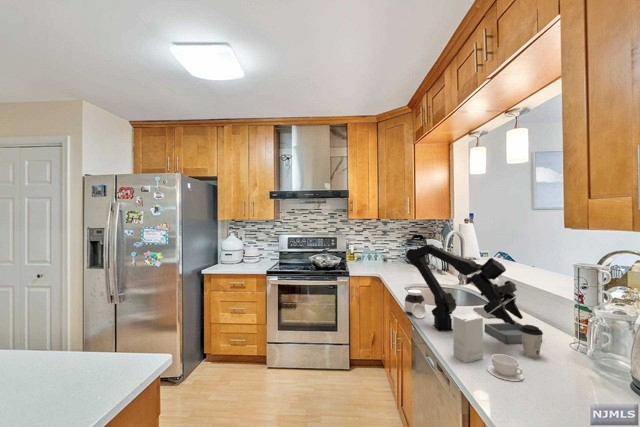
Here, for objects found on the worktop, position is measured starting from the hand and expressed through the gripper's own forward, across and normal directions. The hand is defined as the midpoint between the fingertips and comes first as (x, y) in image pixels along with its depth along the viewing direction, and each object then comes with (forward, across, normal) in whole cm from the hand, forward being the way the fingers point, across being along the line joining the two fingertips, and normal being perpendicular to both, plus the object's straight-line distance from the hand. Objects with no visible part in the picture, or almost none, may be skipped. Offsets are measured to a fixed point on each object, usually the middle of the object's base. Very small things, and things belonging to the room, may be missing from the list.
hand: (518, 321), depth 110 cm
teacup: (+10, -21, +7) cm, 24 cm away
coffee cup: (+11, 0, +5) cm, 12 cm away
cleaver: (-6, +34, +22) cm, 41 cm away
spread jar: (-26, +8, +41) cm, 49 cm away
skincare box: (+1, -19, +15) cm, 25 cm away
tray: (+4, +13, +12) cm, 18 cm away
